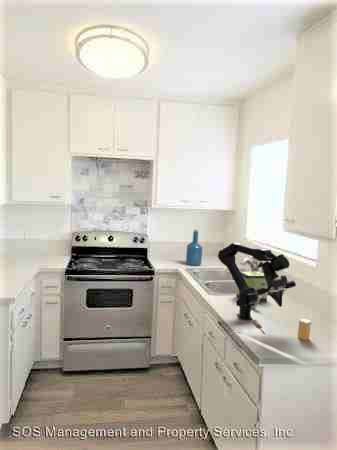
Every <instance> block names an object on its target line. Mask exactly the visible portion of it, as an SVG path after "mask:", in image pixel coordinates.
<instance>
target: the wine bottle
mask: <svg viewBox="0 0 337 450" xmlns="http://www.w3.org/2000/svg"><path fill="white" fill-rule="evenodd" d="M192 236H193V237H192V242H190V243H189V244H187V245H186V256H185V263H186V265H188V266H192V267H198V266H199V267H200V266H202V259H203V247H202V245H201V244H199V231H198V229H194V230H193V235H192Z"/></svg>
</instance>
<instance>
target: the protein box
mask: <svg viewBox="0 0 337 450" xmlns="http://www.w3.org/2000/svg"><path fill="white" fill-rule="evenodd" d="M240 272H241V274H242V276H243V278H244V280H245V281H246V283H247V285H248V286H249V287H250V288H251V287H253V288H254V289H255V290H257V289H260V288H265V289H267V286H268V285H267V282H266V280H265V276H264V273H263V271H240ZM236 287H237V286H236ZM267 294H268V293H267V292H266V293H265V294H262V295H260V296H262V297H261V299H260V300H259V302H261V301H262V302H263V301H265V302H266V301H268V295H267ZM236 297H237V298H239V299H240V296H239V289H238V287H237V288H236Z"/></svg>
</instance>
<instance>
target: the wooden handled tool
mask: <svg viewBox="0 0 337 450" xmlns="http://www.w3.org/2000/svg"><path fill="white" fill-rule="evenodd" d="M251 322H252V324H253V325H254V326H255V327H256V328H257V329H259V330H260V331H261V333H262V334H263V335H266V332H264V330H263V329H262V328H263V326H262V325H261V324H260V323H259V322H258V321H257V320H256V319H252V321H251Z"/></svg>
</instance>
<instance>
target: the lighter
mask: <svg viewBox="0 0 337 450" xmlns="http://www.w3.org/2000/svg"><path fill="white" fill-rule="evenodd" d="M261 297H262V296H260V295H259V296H258V300H257V302H256V303H255V305H254V306H251V310H252V309H253V310H255V309H256V307H257V306H256V305H257V304H258V303H259V302H260V301H259V300H260V299H261Z"/></svg>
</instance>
